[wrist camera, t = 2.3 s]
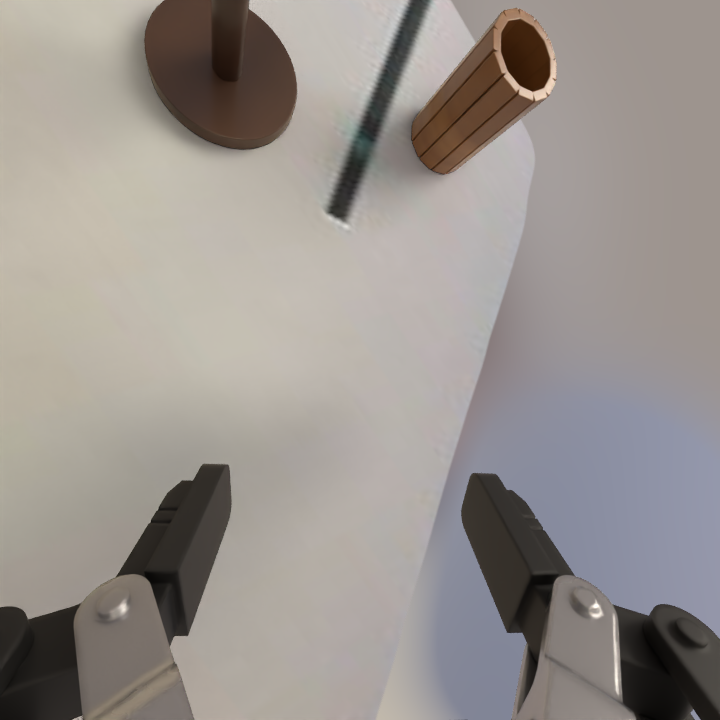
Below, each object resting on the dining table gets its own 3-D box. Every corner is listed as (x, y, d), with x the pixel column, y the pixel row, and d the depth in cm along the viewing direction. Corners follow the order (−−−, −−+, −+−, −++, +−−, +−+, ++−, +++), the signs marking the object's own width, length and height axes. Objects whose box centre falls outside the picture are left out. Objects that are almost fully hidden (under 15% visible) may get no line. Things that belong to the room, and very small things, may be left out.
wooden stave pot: (400, 141, 31) (479, 47, 22) (429, 95, 32) (515, -11, 23) (447, 186, 33) (537, 118, 24) (472, 142, 34) (567, 61, 25)
